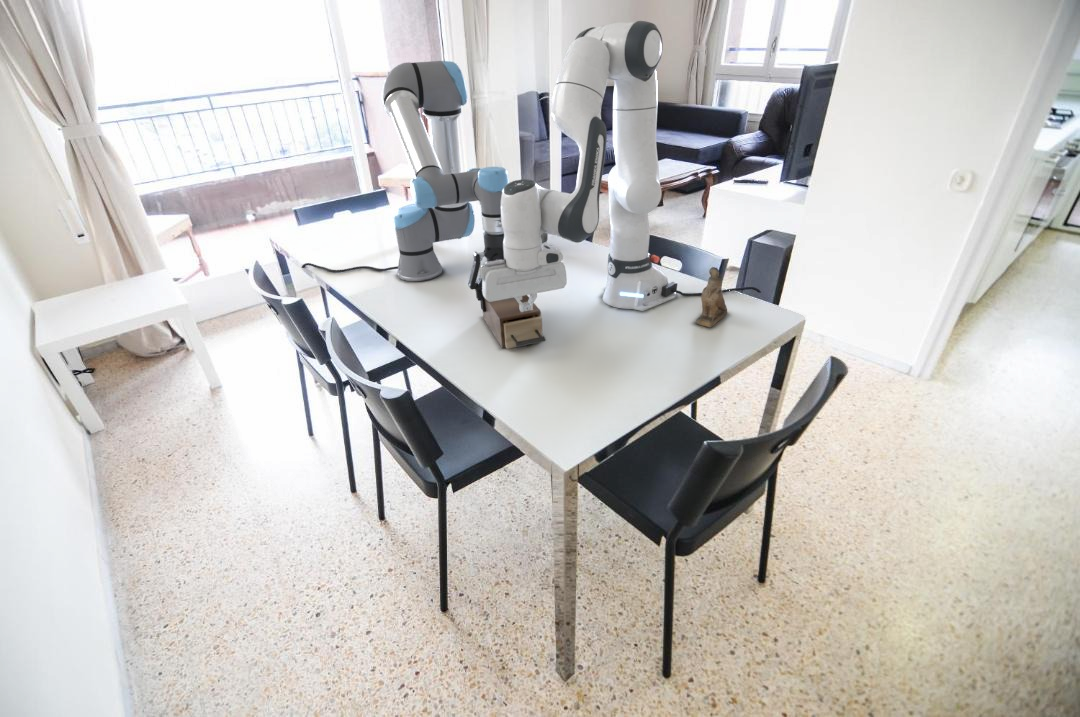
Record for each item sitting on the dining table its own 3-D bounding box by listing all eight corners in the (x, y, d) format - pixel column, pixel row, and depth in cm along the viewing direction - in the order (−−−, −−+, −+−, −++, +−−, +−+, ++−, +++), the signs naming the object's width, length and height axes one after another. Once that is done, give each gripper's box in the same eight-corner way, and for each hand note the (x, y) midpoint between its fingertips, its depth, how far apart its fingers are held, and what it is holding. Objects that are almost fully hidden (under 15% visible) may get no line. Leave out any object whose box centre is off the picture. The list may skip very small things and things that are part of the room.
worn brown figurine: (709, 335, 136) (713, 280, 124) (691, 329, 139) (693, 274, 128) (730, 313, 142) (736, 258, 130) (712, 307, 145) (716, 253, 133)
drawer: (549, 350, 126) (549, 326, 122) (512, 358, 123) (511, 334, 119) (520, 313, 144) (519, 291, 141) (488, 319, 142) (485, 297, 138)
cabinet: (541, 340, 132) (540, 310, 128) (502, 348, 129) (499, 318, 125) (519, 310, 148) (517, 283, 143) (483, 317, 145) (480, 290, 140)
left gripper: (456, 240, 124) (466, 319, 135) (544, 228, 130) (546, 304, 142) (450, 232, 130) (460, 308, 141) (534, 220, 136) (537, 294, 148)
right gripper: (482, 267, 108) (488, 324, 115) (569, 253, 114) (569, 307, 121) (475, 258, 113) (481, 312, 120) (558, 245, 119) (559, 298, 126)
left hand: (503, 306), depth 142 cm, fingers closed on cabinet, 11 cm apart
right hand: (526, 310), depth 121 cm, fingers closed
